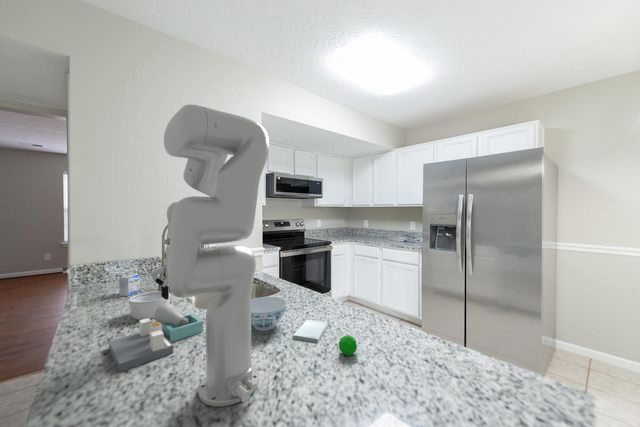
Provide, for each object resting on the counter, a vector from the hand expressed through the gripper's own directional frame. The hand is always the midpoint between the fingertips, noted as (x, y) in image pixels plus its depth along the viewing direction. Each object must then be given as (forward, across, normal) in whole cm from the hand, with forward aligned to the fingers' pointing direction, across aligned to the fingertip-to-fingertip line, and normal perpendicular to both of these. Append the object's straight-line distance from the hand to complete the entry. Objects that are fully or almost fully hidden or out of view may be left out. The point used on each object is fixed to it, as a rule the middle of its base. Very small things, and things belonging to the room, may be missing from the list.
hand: (182, 295), depth 83 cm
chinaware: (+13, +21, -15) cm, 29 cm away
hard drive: (+14, +30, -29) cm, 44 cm away
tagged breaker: (+10, -8, -2) cm, 13 cm away
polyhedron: (+14, +27, -46) cm, 55 cm away
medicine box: (+10, -3, +62) cm, 63 cm away
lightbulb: (+10, +2, +1) cm, 10 cm away
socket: (+12, 0, +1) cm, 12 cm away
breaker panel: (+12, -12, -2) cm, 17 cm away
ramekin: (+12, -3, +26) cm, 29 cm away
